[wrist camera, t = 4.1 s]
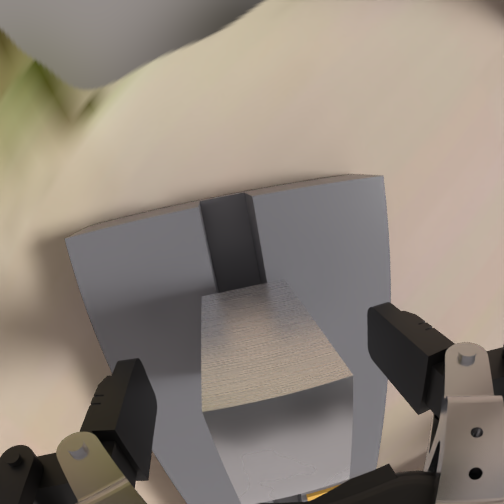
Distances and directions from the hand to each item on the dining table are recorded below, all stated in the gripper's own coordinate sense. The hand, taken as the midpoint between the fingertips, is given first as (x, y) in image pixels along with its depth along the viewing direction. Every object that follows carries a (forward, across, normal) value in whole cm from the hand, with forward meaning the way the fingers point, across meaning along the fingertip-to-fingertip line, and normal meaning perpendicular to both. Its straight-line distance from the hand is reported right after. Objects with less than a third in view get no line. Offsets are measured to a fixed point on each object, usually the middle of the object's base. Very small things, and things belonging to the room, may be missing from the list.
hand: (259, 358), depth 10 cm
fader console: (+6, 0, +9) cm, 11 cm away
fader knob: (+6, 0, 0) cm, 6 cm away
